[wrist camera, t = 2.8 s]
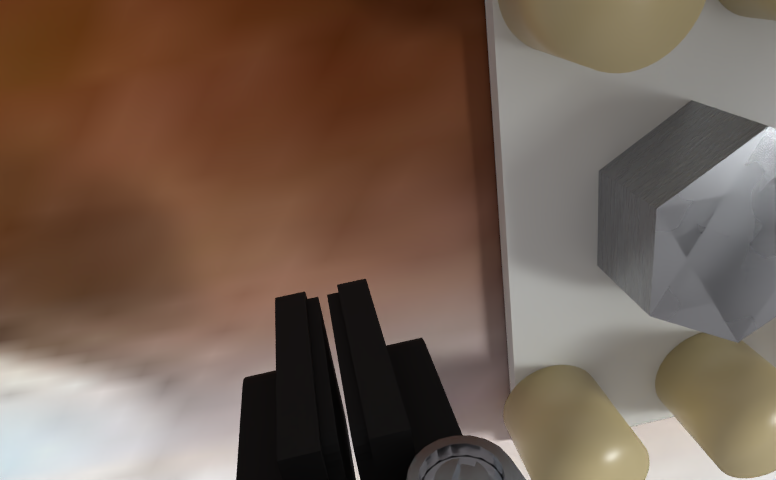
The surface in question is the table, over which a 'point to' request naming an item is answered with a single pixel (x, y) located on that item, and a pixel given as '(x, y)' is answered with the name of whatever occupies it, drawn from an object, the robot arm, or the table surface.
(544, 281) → the spacer board
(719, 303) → the grey faceted block
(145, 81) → the table surface
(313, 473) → the robot arm
